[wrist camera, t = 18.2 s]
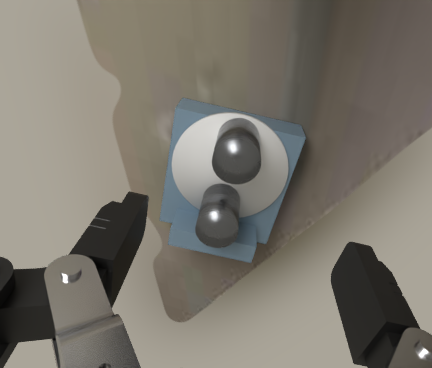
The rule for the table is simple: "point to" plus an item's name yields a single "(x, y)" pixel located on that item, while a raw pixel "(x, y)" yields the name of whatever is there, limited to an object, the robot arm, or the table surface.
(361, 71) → the table surface
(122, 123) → the table surface
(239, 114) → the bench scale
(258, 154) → the cylinder
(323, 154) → the table surface
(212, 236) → the cylinder
